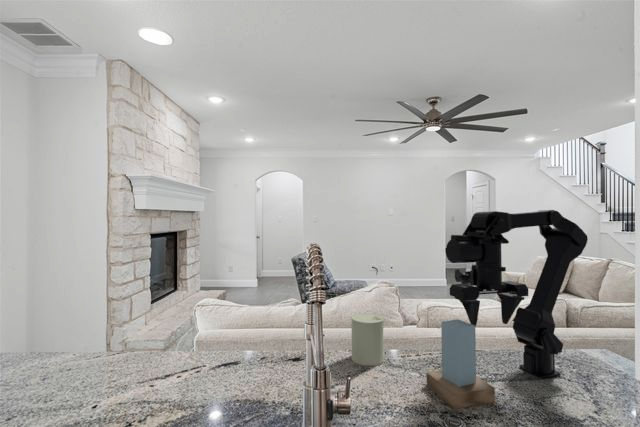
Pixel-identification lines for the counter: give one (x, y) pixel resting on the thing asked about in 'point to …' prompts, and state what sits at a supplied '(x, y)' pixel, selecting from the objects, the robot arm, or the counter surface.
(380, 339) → the can
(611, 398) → the counter surface
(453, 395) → the slab
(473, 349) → the block
